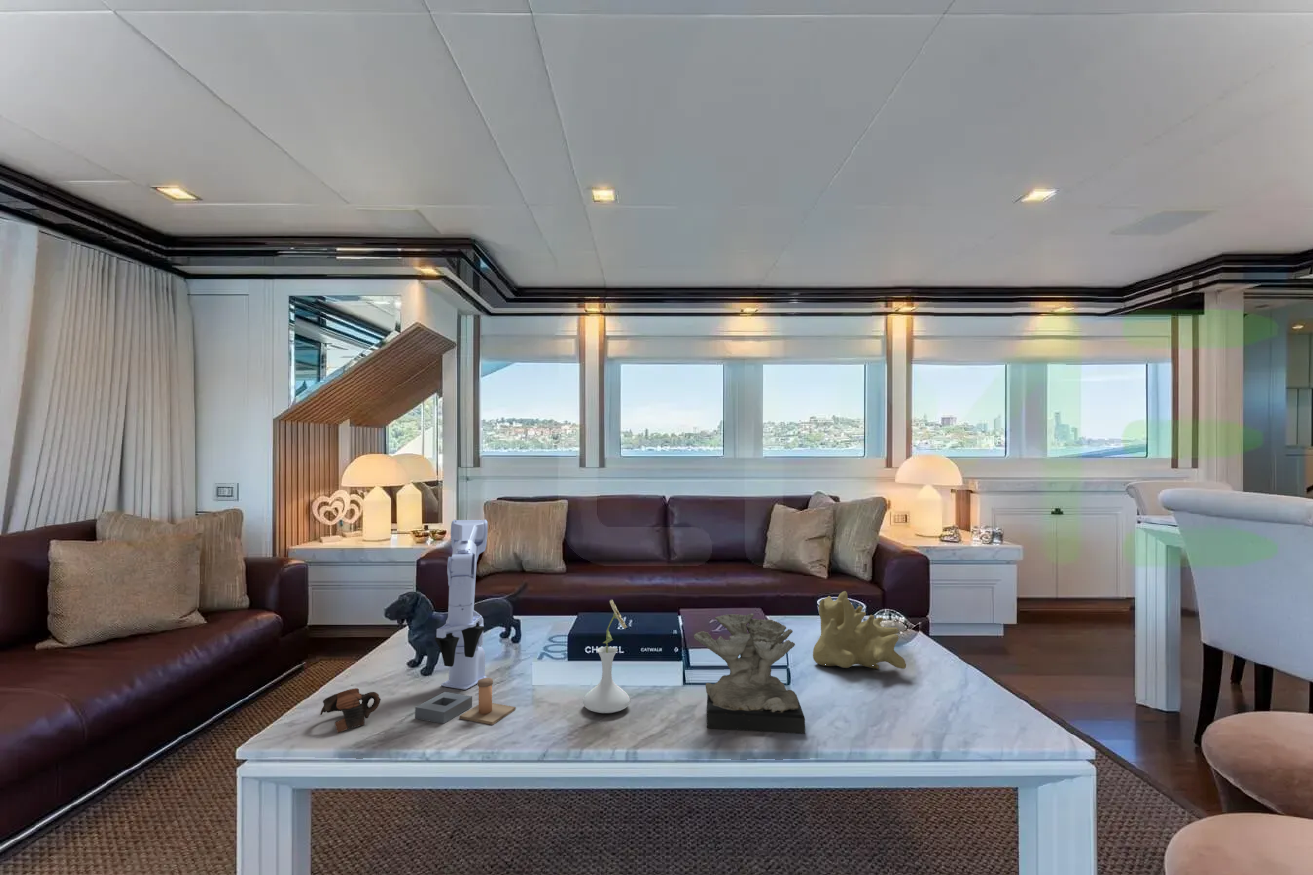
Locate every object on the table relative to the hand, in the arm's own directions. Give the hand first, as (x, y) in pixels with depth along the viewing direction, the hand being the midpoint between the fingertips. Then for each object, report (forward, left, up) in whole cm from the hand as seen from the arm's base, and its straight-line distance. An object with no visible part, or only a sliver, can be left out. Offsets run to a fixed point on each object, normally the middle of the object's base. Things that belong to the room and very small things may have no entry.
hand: (459, 661), depth 143 cm
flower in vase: (-12, +34, -11) cm, 38 cm away
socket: (+5, 0, -10) cm, 11 cm away
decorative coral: (-65, +90, -11) cm, 112 cm away
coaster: (+2, +10, -10) cm, 14 cm away
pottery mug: (+16, -16, -11) cm, 25 cm away
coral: (-21, +66, -11) cm, 70 cm away
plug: (+2, +9, -10) cm, 13 cm away
